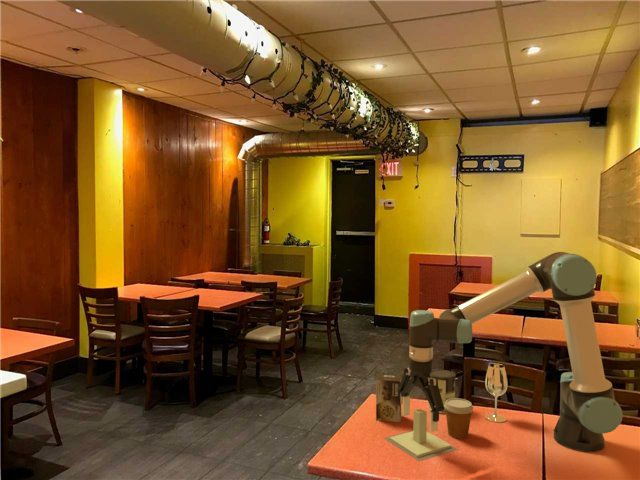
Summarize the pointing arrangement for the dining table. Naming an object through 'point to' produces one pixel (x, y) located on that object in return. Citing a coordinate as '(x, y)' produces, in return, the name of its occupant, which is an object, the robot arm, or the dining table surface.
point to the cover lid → (420, 437)
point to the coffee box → (388, 398)
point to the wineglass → (496, 388)
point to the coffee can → (444, 385)
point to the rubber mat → (424, 455)
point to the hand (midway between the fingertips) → (419, 422)
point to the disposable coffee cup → (458, 417)
